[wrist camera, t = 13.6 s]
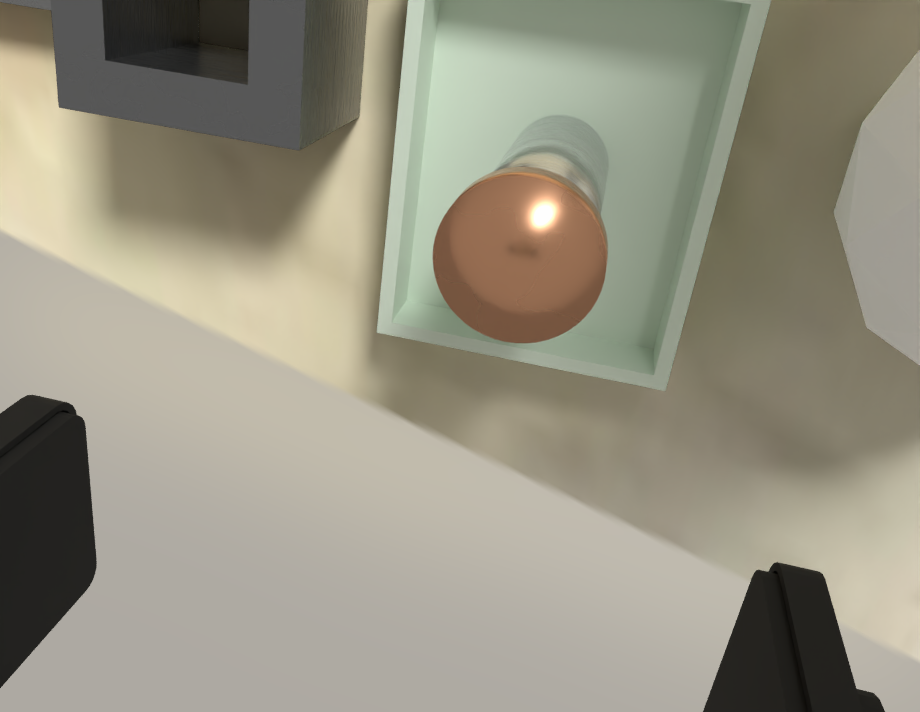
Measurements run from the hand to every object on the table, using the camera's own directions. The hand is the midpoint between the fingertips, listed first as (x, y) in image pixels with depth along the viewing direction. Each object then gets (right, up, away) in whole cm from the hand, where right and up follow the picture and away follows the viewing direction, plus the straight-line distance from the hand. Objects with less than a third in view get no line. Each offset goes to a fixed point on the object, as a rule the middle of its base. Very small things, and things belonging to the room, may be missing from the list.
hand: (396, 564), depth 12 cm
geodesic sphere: (+21, +10, +20) cm, 31 cm away
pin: (+5, +10, +23) cm, 25 cm away
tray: (+5, +11, +23) cm, 26 cm away
